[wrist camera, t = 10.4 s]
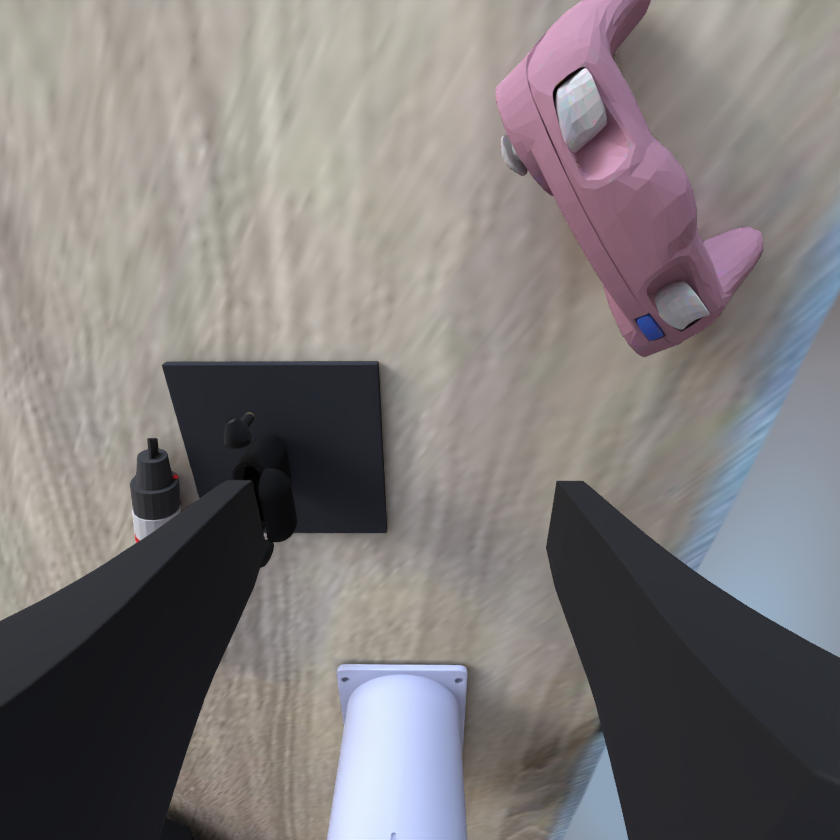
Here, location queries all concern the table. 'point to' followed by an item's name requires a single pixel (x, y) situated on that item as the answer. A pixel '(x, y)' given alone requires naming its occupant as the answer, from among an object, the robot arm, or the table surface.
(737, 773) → the robot arm
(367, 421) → the coaster
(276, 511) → the wireless earbuds
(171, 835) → the electric trimmer
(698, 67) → the table surface
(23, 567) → the table surface
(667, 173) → the video game controller
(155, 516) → the marker
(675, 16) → the table surface
